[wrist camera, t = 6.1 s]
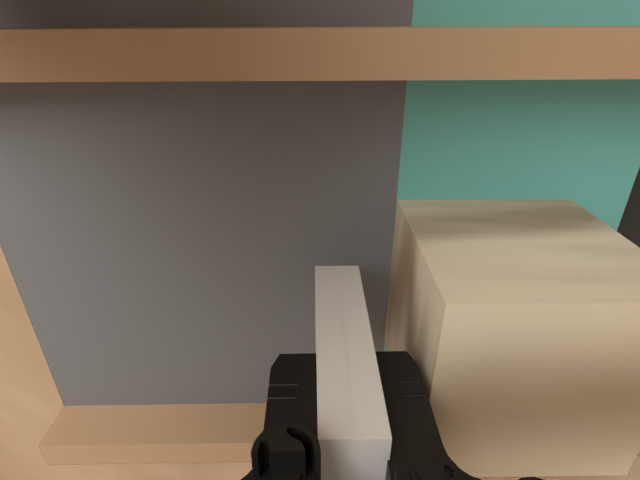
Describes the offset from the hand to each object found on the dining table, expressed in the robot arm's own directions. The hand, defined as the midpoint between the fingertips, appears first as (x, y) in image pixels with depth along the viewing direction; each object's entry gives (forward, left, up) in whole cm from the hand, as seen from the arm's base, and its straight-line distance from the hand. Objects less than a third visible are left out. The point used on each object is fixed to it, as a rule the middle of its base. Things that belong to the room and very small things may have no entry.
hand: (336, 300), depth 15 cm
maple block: (0, +5, -2) cm, 5 cm away
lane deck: (0, +4, -5) cm, 6 cm away
